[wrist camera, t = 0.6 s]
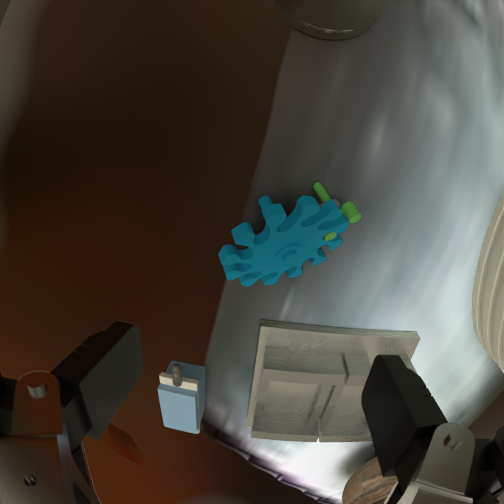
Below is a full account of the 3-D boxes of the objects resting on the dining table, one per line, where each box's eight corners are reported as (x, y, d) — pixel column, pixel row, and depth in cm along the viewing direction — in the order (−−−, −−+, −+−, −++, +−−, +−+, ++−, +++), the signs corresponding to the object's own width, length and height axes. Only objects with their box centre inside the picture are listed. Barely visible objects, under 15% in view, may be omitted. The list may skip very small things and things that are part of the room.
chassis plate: (261, 319, 28) (258, 347, 24) (416, 331, 27) (432, 357, 23) (247, 419, 33) (243, 446, 29) (370, 424, 32) (376, 449, 28)
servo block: (170, 335, 30) (154, 364, 25) (205, 342, 30) (194, 373, 25) (176, 403, 34) (165, 431, 29) (205, 409, 34) (197, 438, 29)
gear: (246, 304, 26) (200, 256, 17) (228, 250, 29) (183, 188, 20) (360, 254, 25) (369, 184, 16) (331, 205, 28) (325, 128, 19)
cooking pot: (457, 445, 35) (474, 491, 23) (375, 488, 40) (382, 534, 29) (416, 397, 30) (444, 468, 19) (305, 456, 36) (306, 522, 24)
